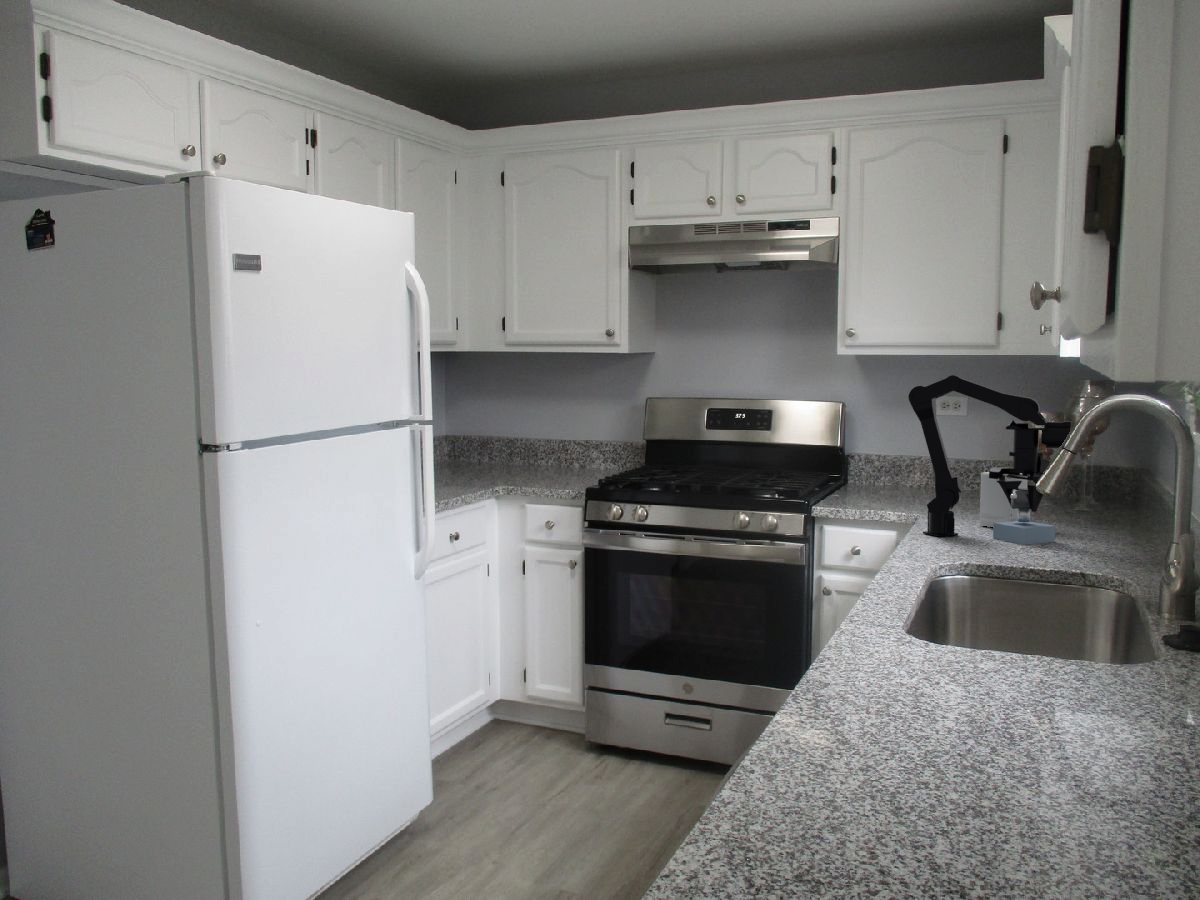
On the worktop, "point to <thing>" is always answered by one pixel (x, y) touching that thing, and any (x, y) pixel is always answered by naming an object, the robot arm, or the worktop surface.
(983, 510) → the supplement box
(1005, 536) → the block
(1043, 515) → the worktop surface
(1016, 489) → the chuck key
